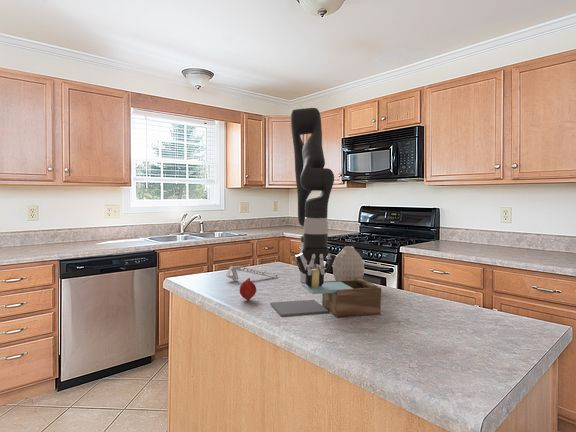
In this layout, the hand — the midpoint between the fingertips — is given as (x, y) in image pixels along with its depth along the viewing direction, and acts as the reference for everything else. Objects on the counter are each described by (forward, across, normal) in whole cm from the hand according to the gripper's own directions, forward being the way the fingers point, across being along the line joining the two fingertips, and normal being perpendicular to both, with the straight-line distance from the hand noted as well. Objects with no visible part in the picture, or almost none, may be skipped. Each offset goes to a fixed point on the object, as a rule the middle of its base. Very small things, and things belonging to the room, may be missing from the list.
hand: (314, 285), depth 117 cm
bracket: (+9, +9, -50) cm, 52 cm away
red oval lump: (+9, +18, -19) cm, 27 cm away
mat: (+9, +3, -6) cm, 11 cm away
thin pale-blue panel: (+1, -4, 0) cm, 5 cm away
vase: (+9, -26, -29) cm, 40 cm away
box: (+9, -13, 0) cm, 16 cm away
